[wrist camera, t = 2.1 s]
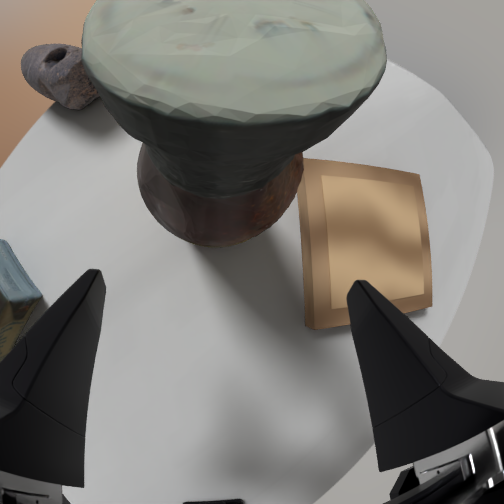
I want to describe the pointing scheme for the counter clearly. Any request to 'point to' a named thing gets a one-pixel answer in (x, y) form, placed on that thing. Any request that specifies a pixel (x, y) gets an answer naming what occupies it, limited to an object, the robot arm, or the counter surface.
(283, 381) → the counter surface
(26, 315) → the beverage carton
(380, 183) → the podium
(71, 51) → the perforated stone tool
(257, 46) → the sauce bottle
